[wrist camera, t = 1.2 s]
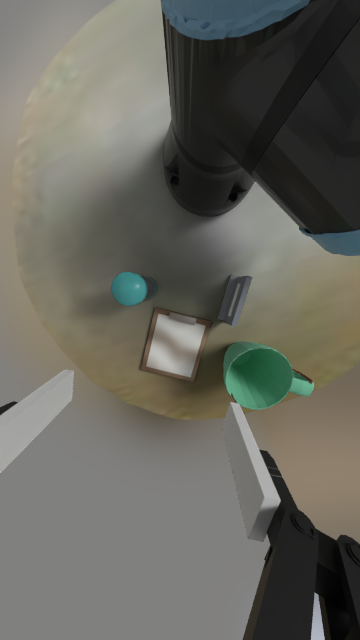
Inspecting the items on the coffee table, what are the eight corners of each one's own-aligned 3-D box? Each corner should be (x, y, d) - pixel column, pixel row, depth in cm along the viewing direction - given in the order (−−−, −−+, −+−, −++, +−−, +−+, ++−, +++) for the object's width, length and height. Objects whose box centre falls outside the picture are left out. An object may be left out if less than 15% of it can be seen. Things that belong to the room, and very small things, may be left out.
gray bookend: (230, 275, 33) (240, 272, 27) (246, 279, 33) (259, 277, 27) (217, 318, 34) (224, 325, 28) (232, 322, 34) (242, 329, 28)
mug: (207, 370, 36) (216, 401, 26) (221, 324, 34) (236, 339, 25) (276, 386, 37) (310, 423, 27) (293, 342, 35) (336, 364, 25)
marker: (137, 274, 33) (114, 268, 22) (159, 280, 33) (147, 276, 22) (133, 296, 34) (108, 301, 23) (154, 301, 34) (140, 309, 23)
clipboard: (155, 306, 34) (154, 307, 33) (211, 321, 34) (212, 322, 33) (141, 368, 36) (139, 371, 35) (193, 380, 37) (193, 384, 35)
